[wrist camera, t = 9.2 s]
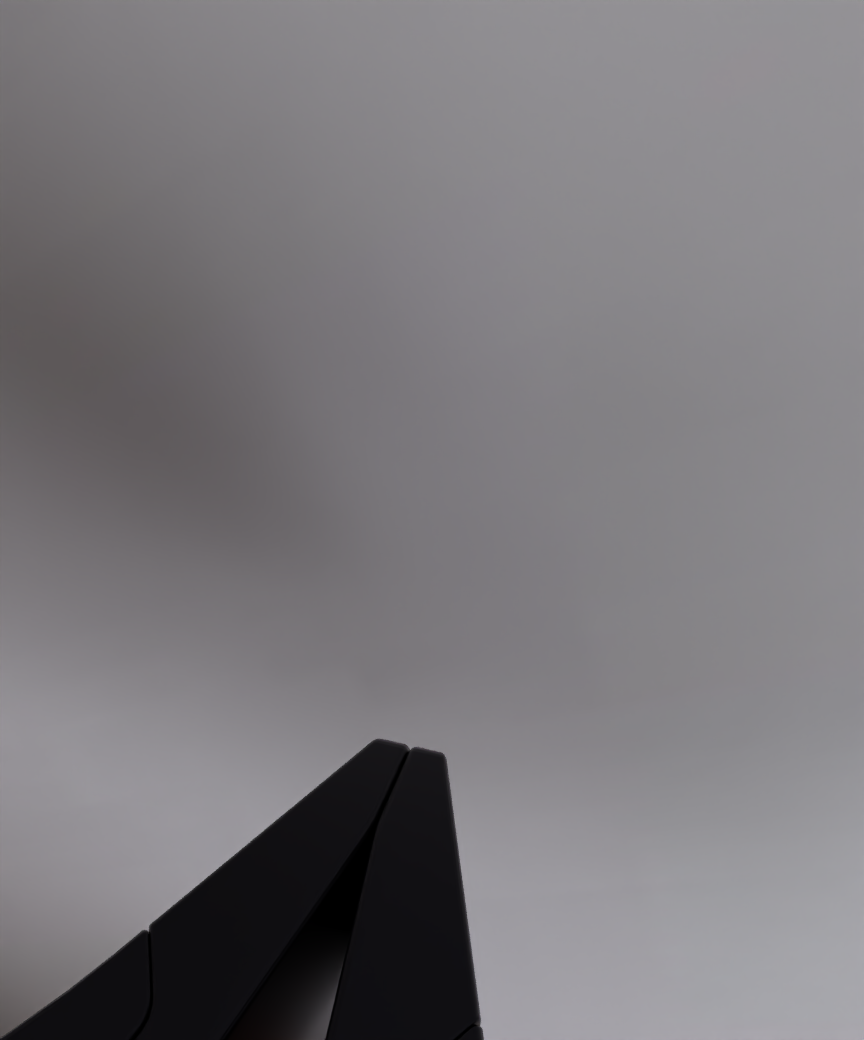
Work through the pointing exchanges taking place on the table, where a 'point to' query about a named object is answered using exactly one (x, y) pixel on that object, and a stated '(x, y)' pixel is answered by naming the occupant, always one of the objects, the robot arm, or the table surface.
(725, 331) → the table surface
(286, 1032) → the robot arm
